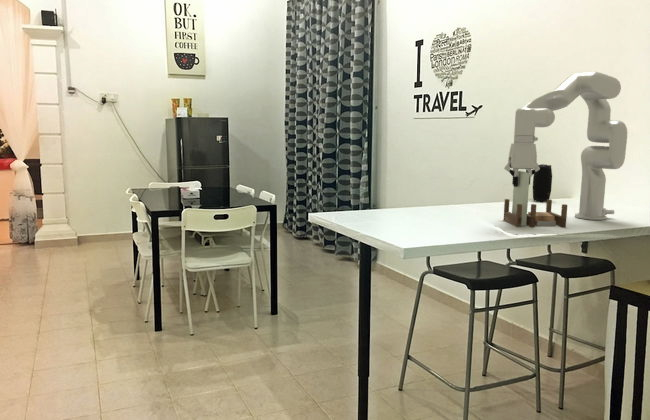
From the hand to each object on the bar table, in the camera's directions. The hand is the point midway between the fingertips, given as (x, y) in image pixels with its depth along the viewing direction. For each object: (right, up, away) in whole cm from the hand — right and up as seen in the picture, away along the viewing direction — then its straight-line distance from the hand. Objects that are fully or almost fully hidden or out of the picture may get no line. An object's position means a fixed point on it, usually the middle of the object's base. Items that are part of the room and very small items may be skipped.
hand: (521, 186), depth 222 cm
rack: (+6, -16, +3) cm, 17 cm away
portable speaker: (+38, -5, +77) cm, 86 cm away
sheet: (0, -16, +2) cm, 16 cm away
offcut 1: (+9, -13, +2) cm, 16 cm away
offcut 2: (+9, -15, +2) cm, 18 cm away
